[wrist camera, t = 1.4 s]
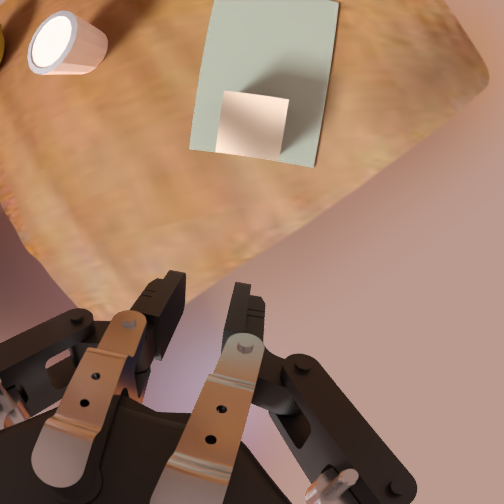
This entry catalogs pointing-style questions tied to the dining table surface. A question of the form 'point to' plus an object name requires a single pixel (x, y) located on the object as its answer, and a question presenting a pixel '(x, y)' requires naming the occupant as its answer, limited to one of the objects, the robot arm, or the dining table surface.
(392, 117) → the dining table surface
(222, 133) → the copper block
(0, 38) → the lemon
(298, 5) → the rubber mat
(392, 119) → the dining table surface
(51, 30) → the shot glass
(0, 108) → the dining table surface
